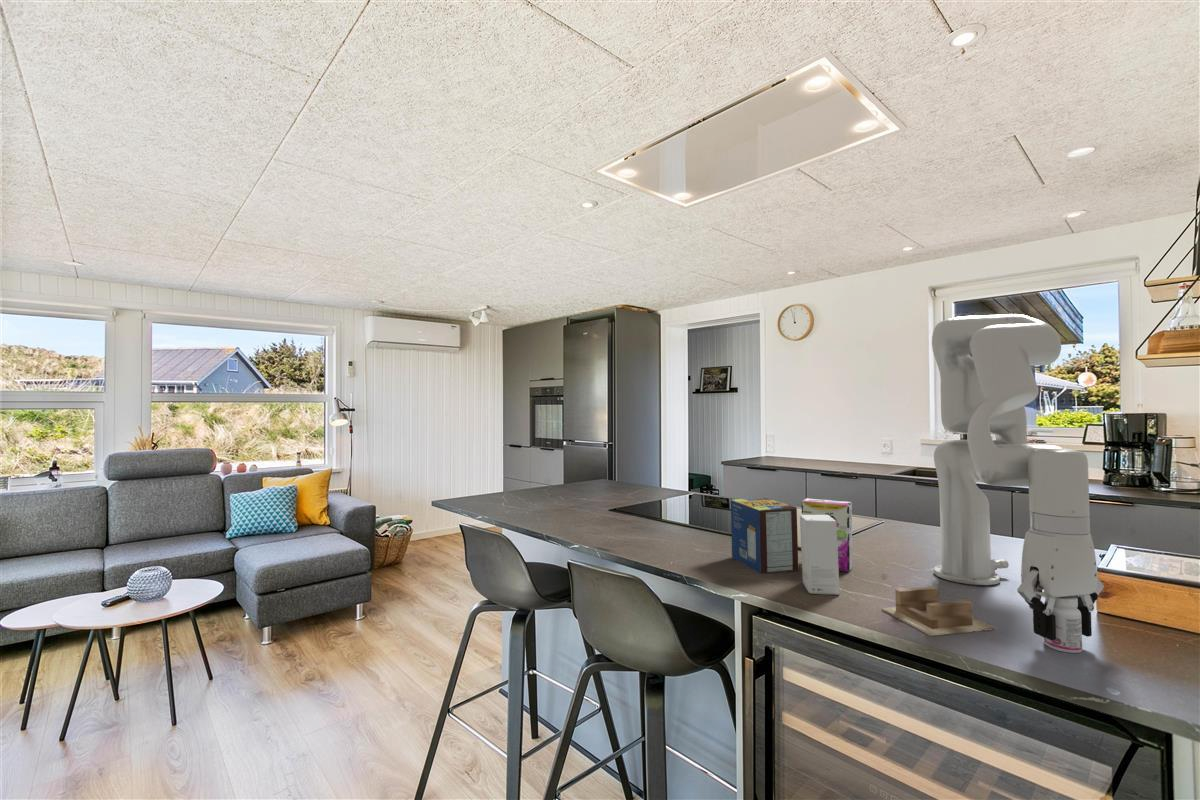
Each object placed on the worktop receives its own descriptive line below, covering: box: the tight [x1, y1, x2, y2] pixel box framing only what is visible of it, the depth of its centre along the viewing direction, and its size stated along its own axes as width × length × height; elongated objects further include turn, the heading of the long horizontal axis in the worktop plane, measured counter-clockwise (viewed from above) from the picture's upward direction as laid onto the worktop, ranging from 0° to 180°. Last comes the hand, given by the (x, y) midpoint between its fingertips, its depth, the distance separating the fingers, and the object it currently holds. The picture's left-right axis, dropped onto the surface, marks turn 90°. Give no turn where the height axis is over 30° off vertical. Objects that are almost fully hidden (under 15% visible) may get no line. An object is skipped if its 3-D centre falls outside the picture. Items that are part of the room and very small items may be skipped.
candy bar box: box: [801, 497, 854, 573], centre depth 133 cm, size 11×5×16 cm, turn 58°
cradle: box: [881, 586, 996, 637], centre depth 99 cm, size 13×12×4 cm
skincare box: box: [799, 514, 840, 596], centre depth 117 cm, size 8×7×16 cm
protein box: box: [730, 497, 799, 575], centre depth 136 cm, size 10×15×16 cm
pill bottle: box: [1043, 596, 1083, 654], centre depth 87 cm, size 5×5×8 cm
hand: (1062, 633), depth 87 cm, fingers open, 6 cm apart
